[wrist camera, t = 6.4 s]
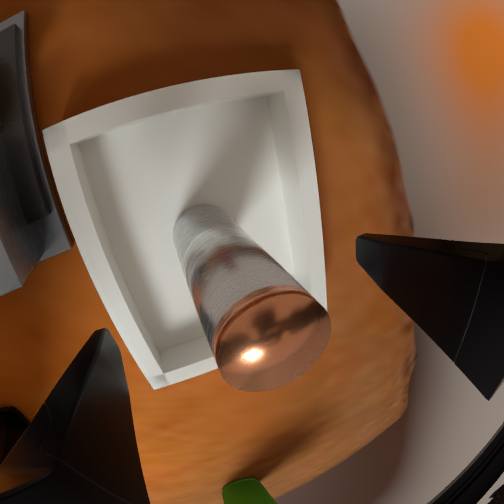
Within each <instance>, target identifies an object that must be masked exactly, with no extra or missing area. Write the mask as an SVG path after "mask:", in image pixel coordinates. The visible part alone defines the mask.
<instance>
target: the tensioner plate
mask: <svg viewBox="0 0 504 504" xmlns="http://www.w3.org/2000/svg"><path fill="white" fill-rule="evenodd" d="M27 19H28V14H27V13H26V12H25V10H23V11H21V12H19V13H18V14H16V15H14V16H12V17H10V18H8V19H7V20H5V21H3V22H1V23H0V296H1V295H3V294H6V293H8V292H11V291H13V290H15V289H18V288H20V287H22V286H23V284H24V283H25V281H26V280H27V278H28V277H29V275H30V274H31V272H32V271H33V269H34V268H35V266H36V265H37V263H38V262H40V261H42V260H45V259H47V258H50V257H52V256H54V255H57V254H59V253H62V252H64V251H67V250H69V249H71V248H72V246H73V242H72V240H71V237H70V234H69V232H68V229H67V226H66V224H65V221H64V218H63V215H62V212H61V210H60V207H59V204H58V201H57V197H56V194H55V191H54V188H53V185H52V181H51V178H50V174H49V171H48V167H47V163H46V159H45V155H44V151H43V147H42V143H41V138H40V134H39V129H38V124H37V119H36V113H35V107H34V101H33V94H32V86H31V78H30V68H29V55H28V29H27Z"/></svg>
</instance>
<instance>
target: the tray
mask: <svg viewBox="0 0 504 504" xmlns="http://www.w3.org/2000/svg"><path fill="white" fill-rule="evenodd" d="M42 132H43V137H44V141H45V145H46V150H47V154H48V158H49V162H50V165H51V169H52V173H53V176H54V180H55V183H56V186H57V190H58V193H59V196H60V199H61V202H62V205H63V208H64V211H65V214H66V217H67V220H68V222H69V225H70V228H71V231H72V233H73V236H74V238H75V241H76V244H77V246H78V249H79V251H80V253H81V256H82V258H83V261H84V263H85V265H86V267H87V270H88V272H89V274H90V276H91V279H92V281H93V283H94V285H95V287H96V289H97V291H98V293H99V296H100V298H101V300H102V302H103V304H104V306H105V308H106V309H107V311H108V313H109V315H110V317H111V319H112V321H113V323H114V325H115V326H116V328H117V330H118V332H119V334H120V336H121V337H122V339H123V341H124V343H125V344H126V346H127V348H128V349H129V351H130V353H131V354H132V356H133V358H134V359H135V361H136V363H137V364H138V366H139V367H140V369H141V371H142V372H143V374H144V375H145V377H146V378H147V380H148V381H149V383H150V384H151V386H152V387H153V389H154V390H155V389H158V388H162V387H165V386H168V385H171V384H174V383H177V382H180V381H183V380H186V379H189V378H192V377H195V376H198V375H201V374H203V373H206V372H209V371H212V370H214V369H217V368H218V366H217V364H216V361H215V359H214V356H213V353H212V351H211V348H210V346H209V343H208V341H207V338H206V335H205V333H204V330H203V327H202V325H201V322H200V319H199V316H198V314H197V311H196V308H195V305H194V302H193V300H192V297H191V294H190V291H189V288H188V285H187V282H186V279H185V276H184V273H183V270H182V267H181V264H180V261H179V258H178V255H177V251H176V248H175V245H174V241H173V228H174V225H175V222H176V220H177V219H178V217H179V216H180V215H181V213H183V212H184V211H185V210H186V209H188V208H190V207H191V206H194V205H197V204H212V205H215V206H217V207H219V208H221V209H222V210H223V211H225V212H226V213H227V214H228V215H229V216H230V217H231V218H232V219H233V220H234V221H235V222H236V223H237V224H238V225H239V226H240V227H241V228H242V229H243V230H244V231H245V232H247V233H248V234H249V235H250V236H251V237H252V238H253V239H254V240H255V241H256V242H257V243H258V244H259V245H260V246H261V247H262V248H263V249H264V250H265V251H266V252H267V253H268V254H269V255H270V256H271V257H272V258H274V259H275V260H276V261H277V262H278V263H279V264H280V265H281V266H282V267H283V268H284V269H285V270H286V271H287V272H288V273H289V274H290V275H291V276H292V277H293V278H294V279H295V280H296V281H297V282H298V283H299V284H300V285H301V286H302V287H303V288H304V289H305V290H307V291H308V292H309V293H310V294H311V295H312V296H313V297H314V298H315V299H316V300H317V301H318V302H319V303H320V304H321V305H322V306H323V307H324V308H325V310H326V311H327V298H326V278H325V262H324V248H323V235H322V224H321V213H320V203H319V194H318V185H317V176H316V168H315V160H314V153H313V146H312V139H311V132H310V126H309V119H308V113H307V107H306V101H305V95H304V90H303V84H302V79H301V74H300V69H292V70H275V71H263V72H252V73H243V74H235V75H228V76H221V77H215V78H209V79H203V80H197V81H192V82H187V83H182V84H178V85H173V86H169V87H165V88H160V89H156V90H153V91H149V92H145V93H141V94H138V95H134V96H131V97H128V98H124V99H121V100H118V101H115V102H112V103H109V104H106V105H103V106H100V107H97V108H94V109H92V110H89V111H86V112H84V113H81V114H79V115H76V116H73V117H71V118H69V119H66V120H64V121H61V122H59V123H57V124H55V125H52V126H50V127H48V128H46V129H44V130H42Z"/></svg>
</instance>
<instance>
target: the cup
mask: <svg viewBox="0 0 504 504" xmlns="http://www.w3.org/2000/svg"><path fill="white" fill-rule="evenodd" d="M222 496H223V500H224V504H277V503H276V502H275V500H274V499H273V498H272V497H271V495H270V494H269V493H268V492H267V490H266V489H265V488H264V487H263V485H262V484H261V483H260V481H258V480H257V479H255V478H247V479H242V480H238V481H235V482H233V483H230V484H228V485H227V486H225V487H224V488H223V492H222Z"/></svg>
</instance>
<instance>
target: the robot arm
mask: <svg viewBox="0 0 504 504" xmlns="http://www.w3.org/2000/svg"><path fill="white" fill-rule="evenodd" d="M356 260H357V262H358V263H359V265H360V266H361V267H362V268H363V269H364V270H365V271H366V272H367V274H368V275H369V276H370V277H371V278H372V279H373V280H374V282H375V283H376V284H377V285H378V286H379V287H380V288H381V289H382V290H383V291H384V292H385V293H386V294H387V295H388V296H389V297H390V298H391V299H392V300H393V301H394V302H395V303H396V304H397V305H398V306H399V307H400V308H401V309H402V310H403V311H404V312H405V313H406V314H407V315H408V316H409V317H410V318H411V319H412V320H413V321H414V322H415V323H416V324H417V325H418V326H419V327H420V328H421V329H422V330H423V331H424V332H425V333H426V334H427V335H428V336H429V337H430V338H431V339H432V340H433V341H434V342H435V343H436V344H437V345H438V346H439V347H440V348H441V349H442V350H443V351H444V353H445V354H446V355H447V356H448V357H449V358H450V359H451V360H452V361H453V362H454V363H455V365H456V366H457V367H458V368H459V369H460V370H461V371H462V372H463V373H464V374H465V376H466V377H467V378H468V379H469V380H470V381H471V382H472V383H473V384H474V386H475V387H476V388H477V389H478V390H479V391H480V392H481V394H482V395H483V396H484V397H485V398H486V399H487V400H488V401H489V400H490V399H491V398H492V397H493V395H494V394H495V392H496V391H497V390H498V389H499V387H500V386H501V385H502V383H503V382H504V244H497V243H478V242H464V241H453V240H451V241H449V240H442V239H431V238H420V237H419V238H418V237H408V236H395V235H382V234H369V233H365V234H362V235H360V236H358V237H357V238H356ZM503 472H504V422H503V424H502V425H501V426H500V428H499V429H498V430H497V432H496V433H495V434H494V436H493V437H492V438H491V439H490V441H489V442H488V443H487V444H486V445H485V447H484V448H483V449H482V450H481V451H480V452H479V454H478V455H477V456H476V457H475V458H474V459H473V460H472V461H471V463H470V464H469V465H468V466H467V467H466V468H465V469H464V470H463V471H462V472H461V473H460V474H459V475H458V476H457V477H456V478H455V479H454V480H453V481H452V482H451V483H450V484H449V485H448V486H447V487H445V489H443V490H442V491H441V492H440V493H439V494H438V495H437V496H436V497H434V498H433V499H432V500H431V501H430V502H429V503H427V504H477V502H478V501H479V500H480V499H481V498H482V497H483V496H484V495H485V494H486V492H487V491H488V490H489V489H490V488H491V486H493V484H494V483H495V482H496V481H497V479H498V478H499V477H500V476H501V474H502V473H503ZM489 498H490V499H491V501H490V502H489V503H488V504H504V484H503V485H502V486H501V487H500V488H499V489H497V490H496V491H495V492H494V493H493V494H492V495H491V496H490V497H489ZM0 504H150V501H149V497H148V493H147V489H146V485H145V481H144V477H143V472H142V468H141V463H140V458H139V453H138V448H137V443H136V437H135V431H134V425H133V418H132V411H131V403H130V396H129V390H128V385H127V381H126V377H125V372H124V367H123V362H122V357H121V353H120V350H119V347H118V345H117V344H116V342H115V340H114V339H113V337H112V335H111V333H110V332H109V330H108V329H107V328H102V329H99V330H96V331H94V333H93V334H92V335H91V337H90V338H89V339H88V341H87V342H86V343H85V345H84V346H83V347H82V349H81V350H80V351H79V353H78V354H77V356H76V357H75V358H74V360H73V361H72V363H71V364H70V365H69V367H68V368H67V370H66V371H65V372H64V374H63V375H62V377H61V378H60V380H59V381H58V382H57V384H56V385H55V387H54V388H53V390H52V391H51V393H50V394H49V396H48V397H47V399H46V400H45V404H43V405H42V406H41V408H40V410H39V411H38V413H37V414H36V416H35V417H34V419H33V420H32V422H31V423H30V422H29V421H28V420H27V419H26V418H25V417H24V416H23V415H22V414H21V413H20V412H19V411H18V410H16V409H15V408H13V407H7V408H0Z"/></svg>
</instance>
